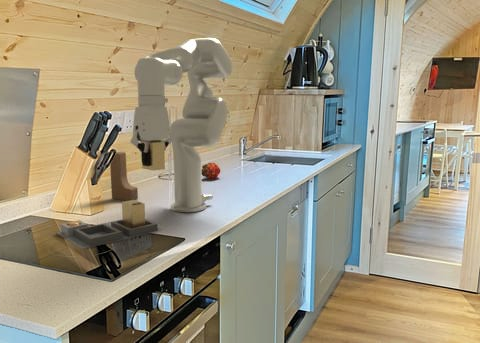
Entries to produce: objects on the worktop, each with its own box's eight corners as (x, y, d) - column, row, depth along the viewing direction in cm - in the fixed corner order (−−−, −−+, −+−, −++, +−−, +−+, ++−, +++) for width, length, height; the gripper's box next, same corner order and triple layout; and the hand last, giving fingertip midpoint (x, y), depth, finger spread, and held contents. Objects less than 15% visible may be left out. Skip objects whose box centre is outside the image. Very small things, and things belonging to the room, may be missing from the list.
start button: (77, 229, 132) (76, 221, 132) (81, 231, 130) (80, 223, 130) (67, 231, 130) (67, 223, 130) (71, 233, 128) (70, 225, 128)
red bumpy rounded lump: (203, 184, 210) (214, 183, 222) (217, 174, 208) (228, 174, 219) (194, 169, 212) (205, 168, 223) (208, 159, 209) (219, 159, 221)
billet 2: (153, 167, 138) (153, 140, 137) (164, 169, 134) (164, 141, 133) (142, 168, 136) (141, 140, 134) (153, 170, 131) (152, 142, 130)
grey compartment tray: (132, 221, 146) (132, 209, 145) (163, 234, 132) (162, 221, 132) (56, 238, 130) (55, 224, 129) (82, 254, 117) (81, 239, 116)
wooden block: (138, 198, 177) (136, 152, 174) (131, 201, 173) (129, 154, 170) (118, 197, 180) (116, 151, 177) (111, 199, 176) (109, 153, 172)
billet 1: (135, 225, 136) (134, 199, 135) (145, 230, 132) (144, 202, 130) (123, 228, 134) (121, 201, 132) (133, 233, 129) (131, 205, 128)
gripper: (168, 102, 140) (169, 161, 143) (118, 101, 129) (121, 166, 132) (182, 102, 135) (183, 163, 137) (132, 101, 123) (134, 169, 126)
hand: (153, 164), depth 134 cm, fingers closed on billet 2, 4 cm apart
